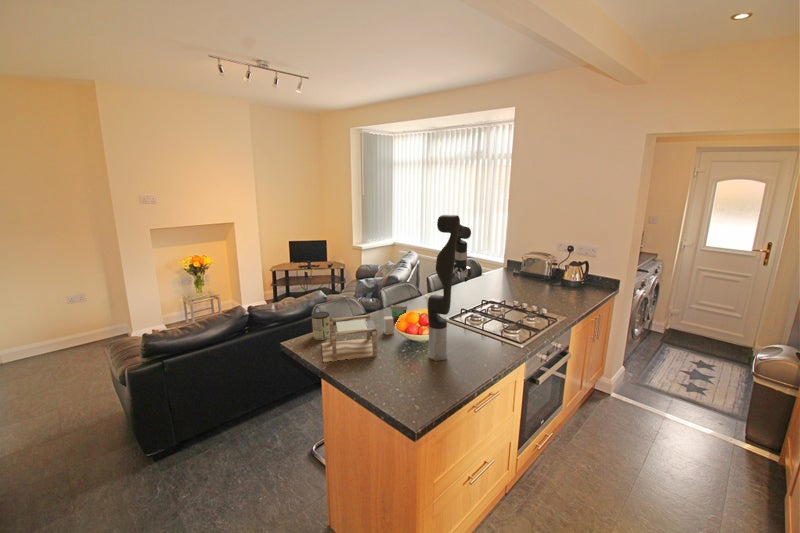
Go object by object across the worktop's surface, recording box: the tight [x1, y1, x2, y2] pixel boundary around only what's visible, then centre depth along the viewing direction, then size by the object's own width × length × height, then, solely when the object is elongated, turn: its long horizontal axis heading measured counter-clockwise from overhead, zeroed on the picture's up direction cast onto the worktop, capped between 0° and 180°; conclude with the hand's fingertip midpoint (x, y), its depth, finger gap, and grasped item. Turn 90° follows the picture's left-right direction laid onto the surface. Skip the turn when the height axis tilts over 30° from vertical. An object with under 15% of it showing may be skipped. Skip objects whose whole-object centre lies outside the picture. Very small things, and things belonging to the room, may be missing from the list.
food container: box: [389, 303, 408, 322], centre depth 242 cm, size 12×6×10 cm, turn 62°
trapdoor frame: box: [321, 314, 378, 363], centre depth 198 cm, size 23×28×15 cm
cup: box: [424, 292, 443, 317], centre depth 248 cm, size 12×12×15 cm
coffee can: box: [311, 311, 330, 341], centre depth 217 cm, size 10×10×14 cm
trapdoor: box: [335, 318, 378, 337], centre depth 198 cm, size 18×20×4 cm
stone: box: [383, 315, 395, 336], centre depth 221 cm, size 5×5×10 cm
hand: (459, 279), depth 232 cm, fingers open, 8 cm apart
